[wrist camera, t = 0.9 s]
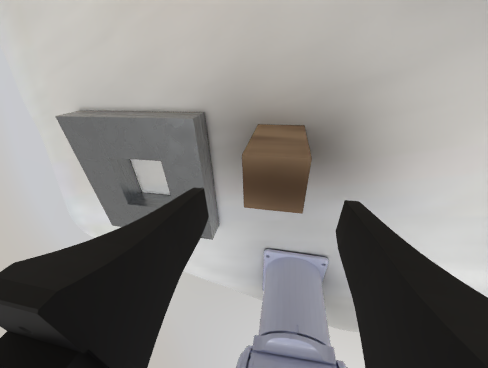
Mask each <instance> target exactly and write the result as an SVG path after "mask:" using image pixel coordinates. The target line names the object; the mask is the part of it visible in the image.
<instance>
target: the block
mask: <svg viewBox="0 0 488 368" xmlns="http://www.w3.org/2000/svg"><path fill="white" fill-rule="evenodd" d="M311 160H312V158H311V153H310V149H309V144H308V140H307V135H306V131H305V126H304V125H262V124H258V126H257V128H256V130H255V132H254V133H253V135H252V137H251V139H250V141H249V143H248V145H247V147H246V148H245V150H244V152H243V154H242V167H243V194H244V207H245V208H254V209H264V210H273V211H283V212H292V213H303V208H304V202H305V196H306V190H307V184H308V178H309V172H310V166H311Z"/></svg>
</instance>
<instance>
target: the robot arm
mask: <svg viewBox="0 0 488 368" xmlns="http://www.w3.org/2000/svg"><path fill="white" fill-rule="evenodd" d="M208 218H209V214H208V208H207V202H206V197H205V191H204V188H195V187H194V188H192V189H190V190H188V191H186V192H185V193H183V194H181V195H180V196H178V197H177V198H175V199H173V200H172V201H170V202H168V203H167V204H165V205H163V206H162V207H160V208H158V209H156V210H155V211H153V212H151V213H149V214H147V215H146V216H144V217H142V218H140V219H138V220H136V221H134V222H132V223H130V224H128V225H125V226H123V227H121V228H119V229H117V230H114V231H112V232H109V233H107V234H104V235H102V236H99V237H97V238H94V239H92V240H89V241H86V242H83V243H80V244H77V245H74V246H71V247H68V248H65V249H62V250H59V251H55V252H52V253H48V254H45V255H41V256H38V257H34V258H30V259H27V260H23V261H19V262H15V263H13V264H12V265H10V266H8V267H7V268H5V269H4V270H3V271H1V272H0V326H1V327H2V328H4V329H5V330H7V332H6V333H5V334H4V335H3V336H2V337H1V338H0V368H147V367H148V363H149V360H150V357H151V354H152V351H153V348H154V345H155V342H156V339H157V336H158V333H159V330H160V328H161V325H162V322H163V319H164V316H165V314H166V311H167V309H168V306H169V303H170V301H171V298H172V296H173V293H174V291H175V288H176V285H177V283H178V280H179V278H180V276H181V274H182V272H183V270H184V268H185V266H186V264H187V262H188V260H189V258H190V257H191V255H192V253H193V251H194V249H195V247H196V245H197V243H198V242H199V240H200V238H201V236H202V234H203V232H204V229H205V227H206V224H207V221H208ZM336 237H337V244H338V250H339V254H340V257H341V261H342V264H343V267H344V271H345V274H346V278H347V281H348V284H349V288H350V291H351V294H352V298H353V302H354V306H355V311H356V316H357V321H358V326H359V332H360V337H361V343H362V349H363V354H364V360H365V368H488V298H487V297H486V296H484V295H482V294H481V293H479V292H478V291H476V290H474V289H473V288H471V287H469V286H468V285H466V284H465V283H463V282H462V281H460V280H459V279H457V278H455V277H454V276H452V275H451V274H450V273H448V272H447V271H445V270H444V269H442V268H441V267H439V266H438V265H436V264H435V263H434V262H432V261H431V260H429V259H428V258H427V257H425V256H424V255H423V254H421V253H420V252H419V251H417V250H416V249H415V248H413V247H412V246H411V245H410V244H408V243H407V242H406V241H404V240H403V239H402V238H401V237H399V236H398V235H397V234H396V233H395V232H393V231H392V230H391V229H390V228H389V227H388V226H386V225H385V224H384V223H383V222H382V221H381V220H380V219H378V218H377V217H376V216H375V215H374V214H373V213H372V212H371V211H369V210H368V209H367V208H366V207H365V206H364V205H362V204H361V203H360V202H359V201H347V200H345V202H344V205H343V208H342V212H341V215H340V219H339V222H338V225H337V229H336ZM328 263H329V261H328V258H326V257H320V256H313V255H306V254H298V253H291V252H284V251H277V250H270V249H266V250H265V251H264V268H263V291H264V294H263V302H262V311H261V319H260V329H259V336H258V335H255V336H254V341H253V346H247V347H246V348H245V350H244V351H243V352H242V353H241V355H240V357H239V359H238V362H237V366H236V368H347V367H346V366H345V364H344V362H343V361H338V360H335V353H334V348H333V347H331V344H330V337H329V331H328V323H327V316H326V309H325V302H324V295H323V288H322V282H323V279H324V276H325V273H326V269H327V266H328Z"/></svg>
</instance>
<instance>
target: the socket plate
mask: <svg viewBox="0 0 488 368" xmlns="http://www.w3.org/2000/svg"><path fill="white" fill-rule="evenodd" d="M56 118H57V120H58V122H59V124H60V126H61V128H62V130H63V132H64V134H65V136H66V138H67V139H68V141H69V143H70V145H71V147H72V149H73V151H74V153H75V155H76V157H77V159H78V160H79V162H80V164H81V166H82V168H83V170H84V172H85V174H86V176H87V178H88V180H89V182H90V183H91V185H92V187H93V189H94V191H95V193H96V195H97V197H98V199H99V201H100V203H101V205H102V206H103V208H104V210H105V212H106V214H107V216H108V218H109V220H110V222H111V224H112V225H113V226H120V227H123V226H125V225H128V224H130V223H132V222H134V221H136V220H138V219H140V218H142V217H144V216H146V215H147V214H149V213H151V212H153V211H155V210H156V209H158V208H160V207H162V206H163V205H165V204H167V203H168V202H170V201H172V200H173V199H175V198H177V197H178V196H180V195H181V194H183V193H185V192H186V191H188V190H190V189H192V188H194V187H195V188H204V191H205V197H206V202H207V208H208V214H209V218H208V221H207V224H206V227H205V229H204V232H203V234H202V236H201V238H205V239H212V240H213V238H214V235H215V233H216V231H217V229H218V226H219V220H218V213H217V205H216V198H215V190H214V182H213V175H212V167H211V159H210V152H209V144H208V136H207V129H206V121H205V114H204V112H137V111H76V112H72V113H67V114H63V115H58V116H56ZM130 159H139V160H155V161H161V162H162V166H163V169H164V173H165V177H166V180H167V184H168V187H169V191H170V195H171V196H170V195H160V194H150V193H142V192H141V189H140V186H139V184H138V181H137V178H136V176H135V173H134V170H133V167H132V165H131V162H130Z"/></svg>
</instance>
